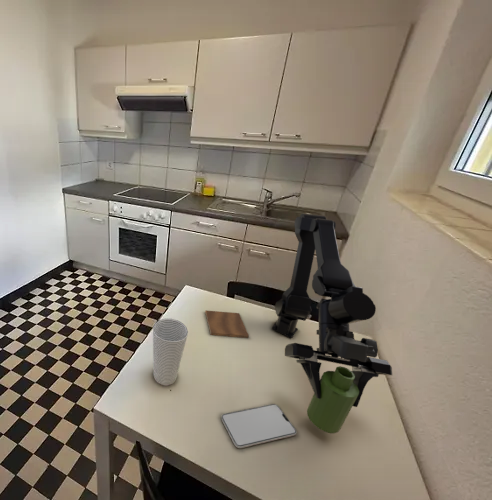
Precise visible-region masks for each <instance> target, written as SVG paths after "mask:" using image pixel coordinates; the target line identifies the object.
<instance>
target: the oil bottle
mask: <svg viewBox="0 0 492 500" xmlns="http://www.w3.org/2000/svg"><path fill="white" fill-rule="evenodd" d="M354 378H355V375H354V373H353V372H352V370H351V369H349V368H347V367H345V366H341V365H340V366H336V368H335V370H326V371H324V372H323V373H322V375H321V376H320V387H321V396H320V399H318V398H316V396H315V394H314V393H313V395H312V397H311V400H310V402H309V404H308V407H307V409H306V415H307V418H308V419H309V421H310V422H311V423H312V424H313V425H314V426H315V427H317V429H319V430H321V431H322V432H325V433H328V434H337V433H339V431H340V430H341V429H342V427H343V425H344V423H345V421H346V419H347V417H348V416H349V414H350V412H351V410H352V408H353V407H354V406H353V404H354V402H355V401H356V399H357V397H358V395H359V389H358V387H357V385H356V384H355V383H354V382H353V381H354Z"/></svg>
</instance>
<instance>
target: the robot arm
mask: <svg viewBox="0 0 492 500" xmlns="http://www.w3.org/2000/svg"><path fill="white" fill-rule="evenodd" d="M336 226H337V224H336V221H334V220H333V219H327V217H326V216H325V215H322V214H321V215H319V214H311V213H301V214H300V215H299V216H297V217H296V218H295V220H294V235H295V237H296V239H297V241H298V244H297V249H296V255H295V260H294V265H293V270H292V274H291V275H292V276H291V279H290V285H289V287H288V288H287V289H285V291H284V292H283V293H282V295H281V299H279V300H277V301H276V302H275V305H274V310H275V313H276V316H277V320H276V322H275V323H274V324H273V325H272V327H271V330H273V331H275V332H277V333H278V334H281V335H283V336H285V337H287V338H289V339H293V337H294V336H295V334H296V333H297V332H298V330H299V328H297V325H298V322H299V321H304V322H306V320H307V319H308V318H309V316H310V315H311V313H312V298H311V297H310V295H309V294H308V286H309V282H310V277H311V272H312V268H313V262H314V258H315V256H316V264H317V269H316V270H315V272H314V274H313V275H312V279H311V280H312V281H311V288H312V290H313V292H314V293H315V295H318V296H319V297H327V298H328V299H327V298H321V300H320V301H319V302H318V303H317V304H316V306H315V308H316V309H317V310H318V329H316V331H315V332H316V335H318V347H316V350H315V349H314V348H313V345H309V344H303V343H298V342H292V343H288V344H286V345H285V347H284V357H288V358H293V359H296V363H298V364H300V365H301V367H302V369H303V371H304V373H305V375H306V377H307V379H308V380H309V383H310V386H311V388H312V391H313V395H314V394H315V396H316V398H318V399H320V396H321V387H320V379H321V375H320V374H321V373H320V371H321V366H322V362H318V360H319V361H324V362H328V363H332V364H338V365H343V366H348V367H351V369H352V370H351V371H352V372H353V373H354V375H355V378H354V381H353V382H354V383H355V384H356V385H357V387H358V389H359V395H358V397H357V399H356V401H355V402H354V404H353V406H352V407H354V408H358V406H359V403H360V401H361V398H362V395H363V393H364V390H365V388H366V386H367V384H368V383H369V382H370V381H371V379H373V378H378V377H379V376H393V368H392V365H391V364H390V362H389V361H388V360H386V359H381V358H377V357H378V353H379V348H378V341H377V340H375V339H371V338H367V337H362V338H361V339H360V340H357V339H355V334H354V331H351V330H350V324H354V323H358V322H359V323H360V322H363V321H367V320H370V319H372V318H373V317H374V315H375V314H376V312H377V311H376V310H377V308H376V304H375V303H374V301H373V300H372V298H371V297H370V296H369V295H367V294H365V292H364V288H363V287H360V286H356V284H355V283H354V281H353V279H352V276H351V273H350V271H349V270H348V269H347V268H346V267H345V266H344V265H343V264H342V262H341V256H340V251H339V246H338V242H337V237H336V231H335V230H336V228H337V227H336Z"/></svg>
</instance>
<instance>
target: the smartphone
mask: <svg viewBox="0 0 492 500" xmlns="http://www.w3.org/2000/svg"><path fill="white" fill-rule="evenodd" d="M220 419H221V422H222V423H223V426H224V428H225V429H226V432H227V433H228V436H229V437H230V439H231V441H232V444H233V445H234V447H236V448H238V449H244V448H248V447H252V446H256V445H259V444H264V443H269V442H273V441H276V440H281V439H286V438H290V437H294V436H296V435H297V432H298V431H297V429H296V428H295V426H294V425H293V423H292V422H291V421H290V419H289V418H288V417H287V415H286V414H285V412H284V411H283V410H282V409H281V407H280V406H279V405H278V404H276V403H271V404H266V405H265V404H264V405H261V406H255V407H251V408H247V409H242V410H235V411H231V412H226V413H223V414H221V416H220Z"/></svg>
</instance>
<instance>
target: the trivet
mask: <svg viewBox="0 0 492 500" xmlns="http://www.w3.org/2000/svg"><path fill="white" fill-rule="evenodd" d="M204 313H205V318H206V321H207V327H208V330H209V334H210V335H211V336H218V337H231V338H241V339H249V336H250V335H249V333H248V331H247V328H246V326H245V324H244V321H243V319H242V317H241V314H240V313H239V312H231V311H229V312H228V311H218V310H205V312H204Z"/></svg>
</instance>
